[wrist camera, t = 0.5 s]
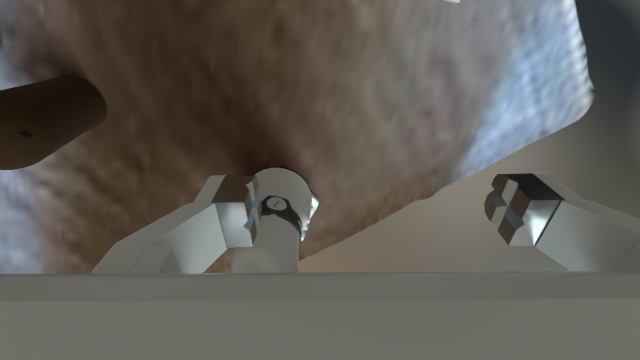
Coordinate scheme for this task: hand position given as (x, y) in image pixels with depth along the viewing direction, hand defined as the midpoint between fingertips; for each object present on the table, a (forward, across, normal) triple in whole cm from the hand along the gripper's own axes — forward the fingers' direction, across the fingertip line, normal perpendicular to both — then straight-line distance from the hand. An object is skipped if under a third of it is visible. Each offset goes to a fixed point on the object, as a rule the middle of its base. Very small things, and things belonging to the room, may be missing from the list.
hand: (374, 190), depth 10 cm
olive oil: (+45, -47, -10) cm, 66 cm away
